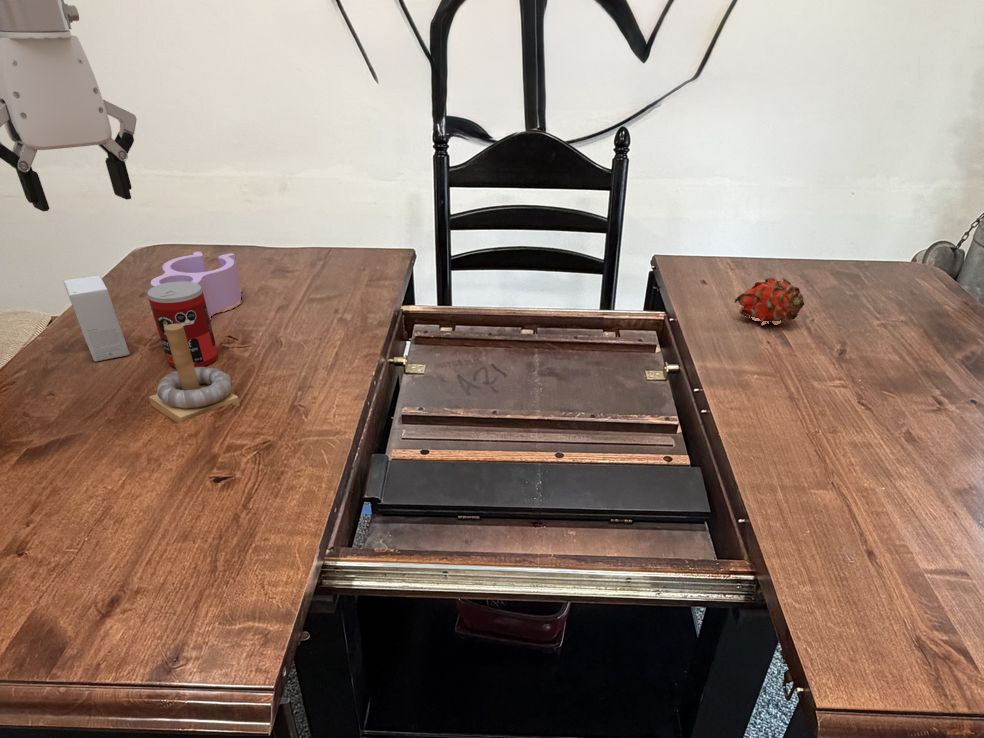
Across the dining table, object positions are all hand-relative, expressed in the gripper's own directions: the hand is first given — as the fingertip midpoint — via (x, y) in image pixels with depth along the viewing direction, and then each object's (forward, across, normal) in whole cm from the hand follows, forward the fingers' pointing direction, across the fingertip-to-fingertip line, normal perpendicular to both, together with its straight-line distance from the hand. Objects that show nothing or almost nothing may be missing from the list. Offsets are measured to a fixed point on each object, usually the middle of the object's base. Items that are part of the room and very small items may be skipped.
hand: (83, 203), depth 85 cm
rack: (+26, -5, +5) cm, 27 cm away
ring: (+23, -6, +5) cm, 25 cm away
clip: (+26, -26, -30) cm, 48 cm away
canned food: (+26, -13, -10) cm, 31 cm away
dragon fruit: (+24, -95, +47) cm, 109 cm away
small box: (+26, -5, -23) cm, 36 cm away
